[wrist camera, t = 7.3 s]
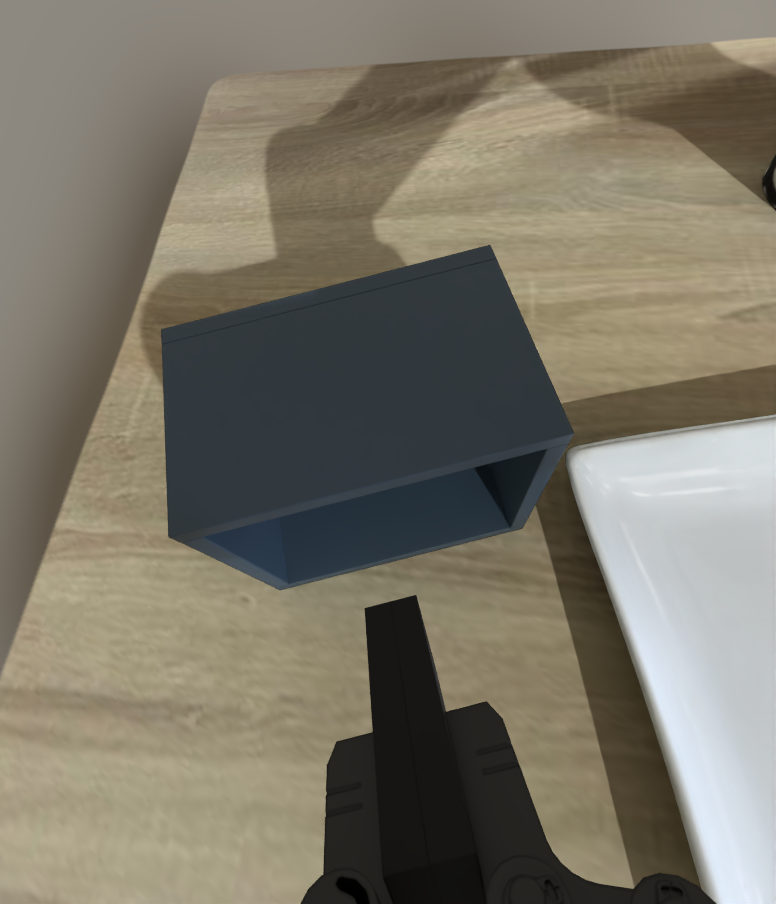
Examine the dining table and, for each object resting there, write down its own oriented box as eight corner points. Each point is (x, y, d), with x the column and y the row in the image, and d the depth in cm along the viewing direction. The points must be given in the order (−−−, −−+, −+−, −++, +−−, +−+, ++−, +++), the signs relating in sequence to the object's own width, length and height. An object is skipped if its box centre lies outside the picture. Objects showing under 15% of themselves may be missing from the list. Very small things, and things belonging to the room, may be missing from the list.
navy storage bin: (524, 528, 27) (578, 432, 16) (277, 591, 27) (164, 538, 16) (476, 394, 31) (493, 243, 20) (259, 449, 31) (157, 329, 20)
